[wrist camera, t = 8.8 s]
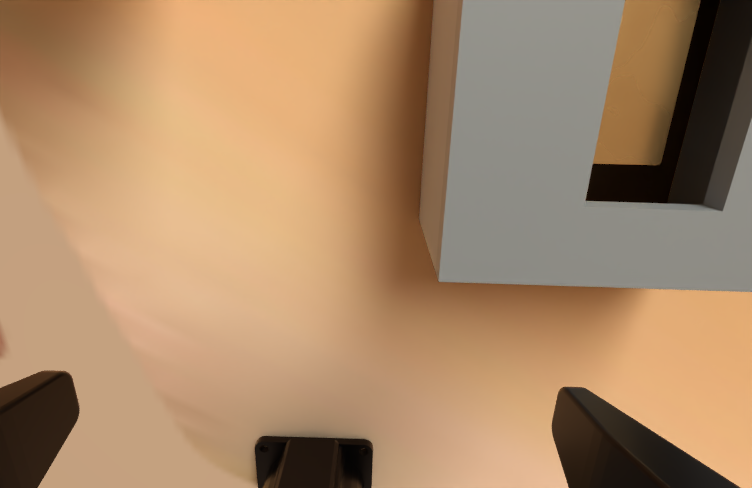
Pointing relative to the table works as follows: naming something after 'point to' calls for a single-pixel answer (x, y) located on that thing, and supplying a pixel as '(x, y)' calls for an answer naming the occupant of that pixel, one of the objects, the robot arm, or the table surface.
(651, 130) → the block
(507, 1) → the box
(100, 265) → the table surface
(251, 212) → the table surface
